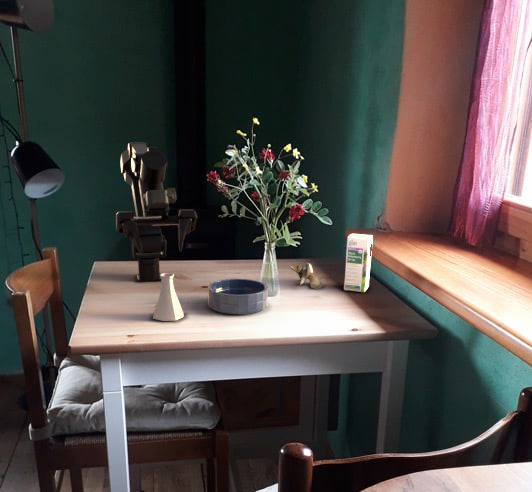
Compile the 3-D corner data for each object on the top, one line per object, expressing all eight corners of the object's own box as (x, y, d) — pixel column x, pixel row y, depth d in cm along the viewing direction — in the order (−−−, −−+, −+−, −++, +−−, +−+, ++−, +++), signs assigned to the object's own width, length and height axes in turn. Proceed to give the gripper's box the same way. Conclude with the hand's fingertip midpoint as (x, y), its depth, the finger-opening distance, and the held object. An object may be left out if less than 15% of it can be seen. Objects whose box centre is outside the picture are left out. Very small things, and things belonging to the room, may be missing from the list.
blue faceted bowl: (205, 299, 154) (204, 279, 153) (260, 296, 157) (260, 277, 156) (212, 317, 142) (212, 296, 140) (272, 314, 144) (273, 294, 143)
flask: (178, 323, 137) (176, 280, 134) (147, 320, 139) (145, 277, 135) (188, 313, 144) (187, 271, 140) (159, 310, 145) (157, 269, 142)
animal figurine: (283, 278, 169) (302, 280, 161) (294, 255, 170) (312, 256, 162) (303, 290, 173) (322, 293, 165) (313, 267, 174) (333, 269, 166)
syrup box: (343, 290, 164) (346, 236, 159) (348, 284, 169) (352, 232, 164) (364, 293, 162) (368, 238, 157) (369, 287, 167) (373, 234, 162)
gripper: (113, 176, 140) (120, 234, 134) (194, 174, 145) (205, 230, 139) (113, 205, 150) (120, 260, 144) (189, 203, 155) (199, 256, 149)
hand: (161, 251), depth 144 cm, fingers open, 9 cm apart
